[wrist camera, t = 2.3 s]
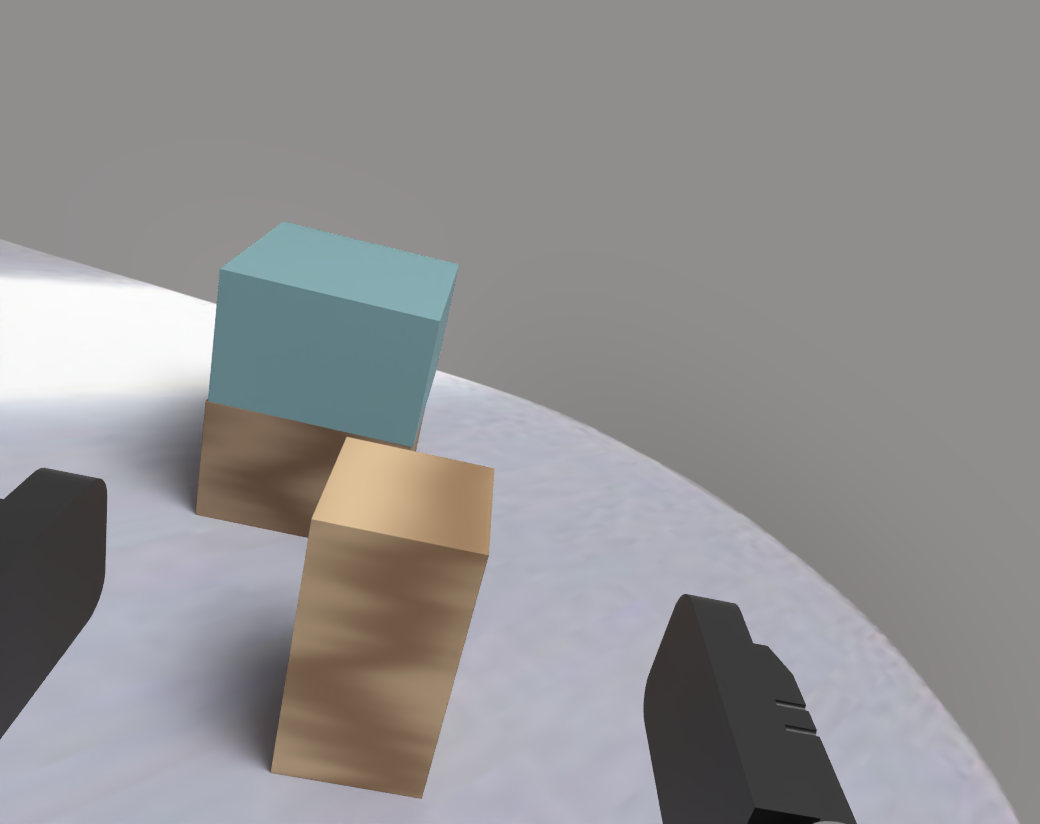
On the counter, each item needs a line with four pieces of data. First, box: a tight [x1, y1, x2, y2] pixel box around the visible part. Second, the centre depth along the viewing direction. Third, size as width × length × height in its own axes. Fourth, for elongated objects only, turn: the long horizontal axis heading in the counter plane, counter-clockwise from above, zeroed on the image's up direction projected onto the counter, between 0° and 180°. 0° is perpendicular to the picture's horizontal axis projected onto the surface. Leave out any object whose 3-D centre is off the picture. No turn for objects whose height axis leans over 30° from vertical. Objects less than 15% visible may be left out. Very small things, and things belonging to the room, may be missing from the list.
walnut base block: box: [196, 399, 425, 538], centre depth 41 cm, size 9×9×6 cm
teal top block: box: [208, 222, 459, 447], centre depth 38 cm, size 9×9×6 cm
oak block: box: [271, 437, 494, 799], centre depth 27 cm, size 5×5×10 cm
